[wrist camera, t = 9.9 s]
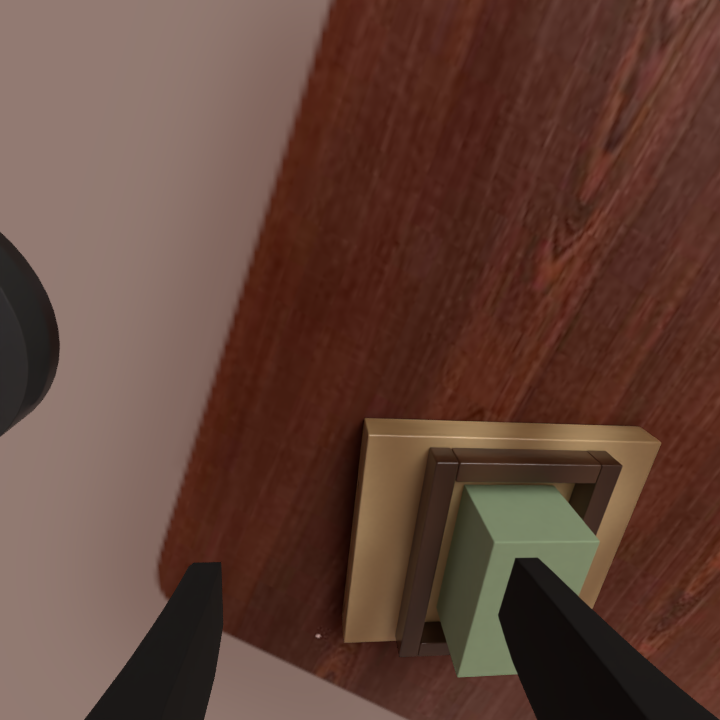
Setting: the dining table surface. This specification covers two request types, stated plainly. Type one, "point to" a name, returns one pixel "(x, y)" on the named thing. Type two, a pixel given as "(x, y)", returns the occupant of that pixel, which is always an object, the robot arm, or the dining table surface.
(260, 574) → the dining table surface
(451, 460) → the wooden base with frame
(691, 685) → the dining table surface
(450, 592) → the green rectangular block
